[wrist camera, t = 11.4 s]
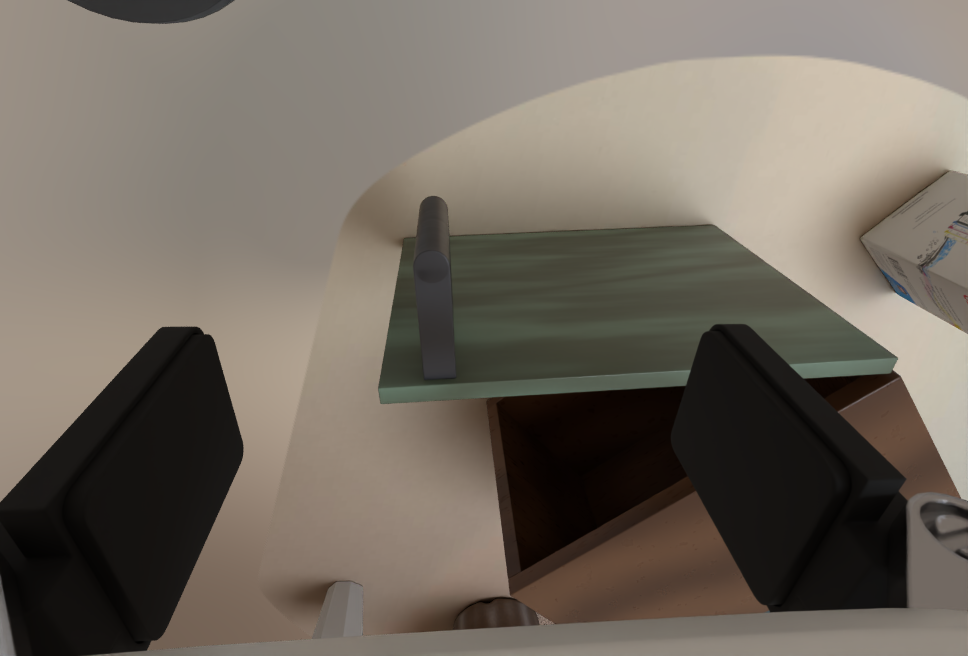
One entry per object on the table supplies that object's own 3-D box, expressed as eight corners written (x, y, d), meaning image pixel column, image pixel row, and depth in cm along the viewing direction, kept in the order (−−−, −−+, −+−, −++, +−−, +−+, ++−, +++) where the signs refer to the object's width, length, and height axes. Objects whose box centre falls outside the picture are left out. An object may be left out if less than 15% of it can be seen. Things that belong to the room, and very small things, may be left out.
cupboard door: (394, 152, 38) (356, 257, 21) (734, 141, 39) (962, 230, 22) (405, 249, 42) (380, 404, 25) (712, 236, 43) (891, 373, 26)
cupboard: (486, 401, 51) (509, 595, 34) (716, 235, 43) (901, 376, 26) (575, 479, 58) (633, 673, 41) (787, 347, 50) (971, 517, 33)
